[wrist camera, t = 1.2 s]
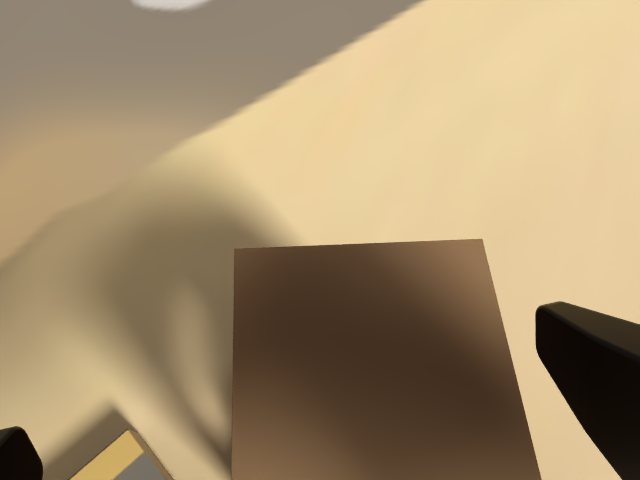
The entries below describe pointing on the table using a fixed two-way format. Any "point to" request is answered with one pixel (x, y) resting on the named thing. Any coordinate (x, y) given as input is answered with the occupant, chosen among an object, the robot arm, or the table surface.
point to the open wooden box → (374, 366)
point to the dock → (124, 461)
